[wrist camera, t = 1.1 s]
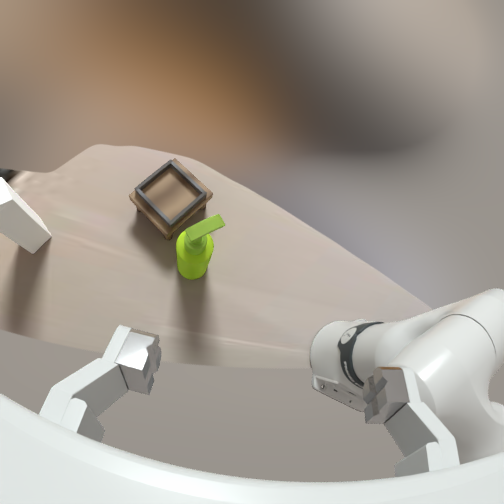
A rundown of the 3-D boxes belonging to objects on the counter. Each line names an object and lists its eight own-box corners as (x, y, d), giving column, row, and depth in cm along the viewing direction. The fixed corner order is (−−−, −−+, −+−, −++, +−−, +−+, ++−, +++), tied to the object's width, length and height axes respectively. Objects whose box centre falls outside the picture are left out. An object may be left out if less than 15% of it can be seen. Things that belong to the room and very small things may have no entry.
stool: (210, 205, 64) (213, 189, 57) (168, 244, 59) (166, 231, 52) (174, 172, 64) (174, 154, 57) (133, 208, 60) (127, 191, 53)
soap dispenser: (217, 268, 60) (233, 236, 42) (186, 284, 58) (187, 259, 39) (202, 243, 61) (212, 200, 42) (172, 258, 59) (167, 221, 40)
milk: (40, 217, 54) (-6, 166, 34) (52, 236, 54) (4, 189, 34) (21, 235, 52) (-31, 191, 32) (33, 255, 52) (-22, 216, 31)
